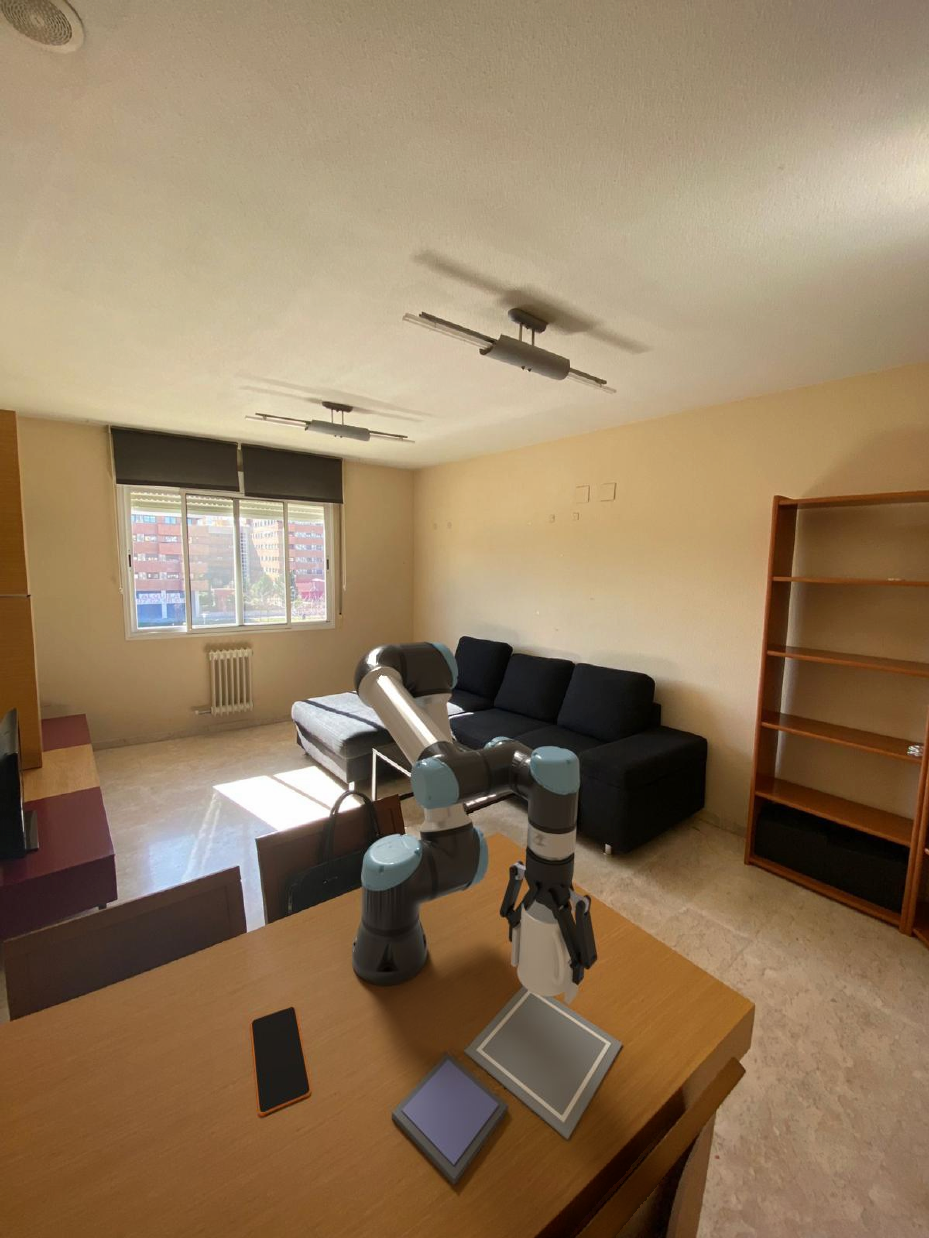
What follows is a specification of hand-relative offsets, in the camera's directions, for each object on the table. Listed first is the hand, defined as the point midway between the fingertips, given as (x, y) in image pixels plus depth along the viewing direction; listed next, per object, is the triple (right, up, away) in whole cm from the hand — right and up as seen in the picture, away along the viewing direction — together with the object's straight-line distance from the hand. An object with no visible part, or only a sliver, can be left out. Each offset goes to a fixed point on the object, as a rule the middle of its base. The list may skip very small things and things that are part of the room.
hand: (543, 978), depth 81 cm
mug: (0, -1, 0) cm, 1 cm away
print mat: (+1, -14, +3) cm, 14 cm away
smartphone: (-43, -13, 0) cm, 45 cm away
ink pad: (-15, -14, -8) cm, 22 cm away
